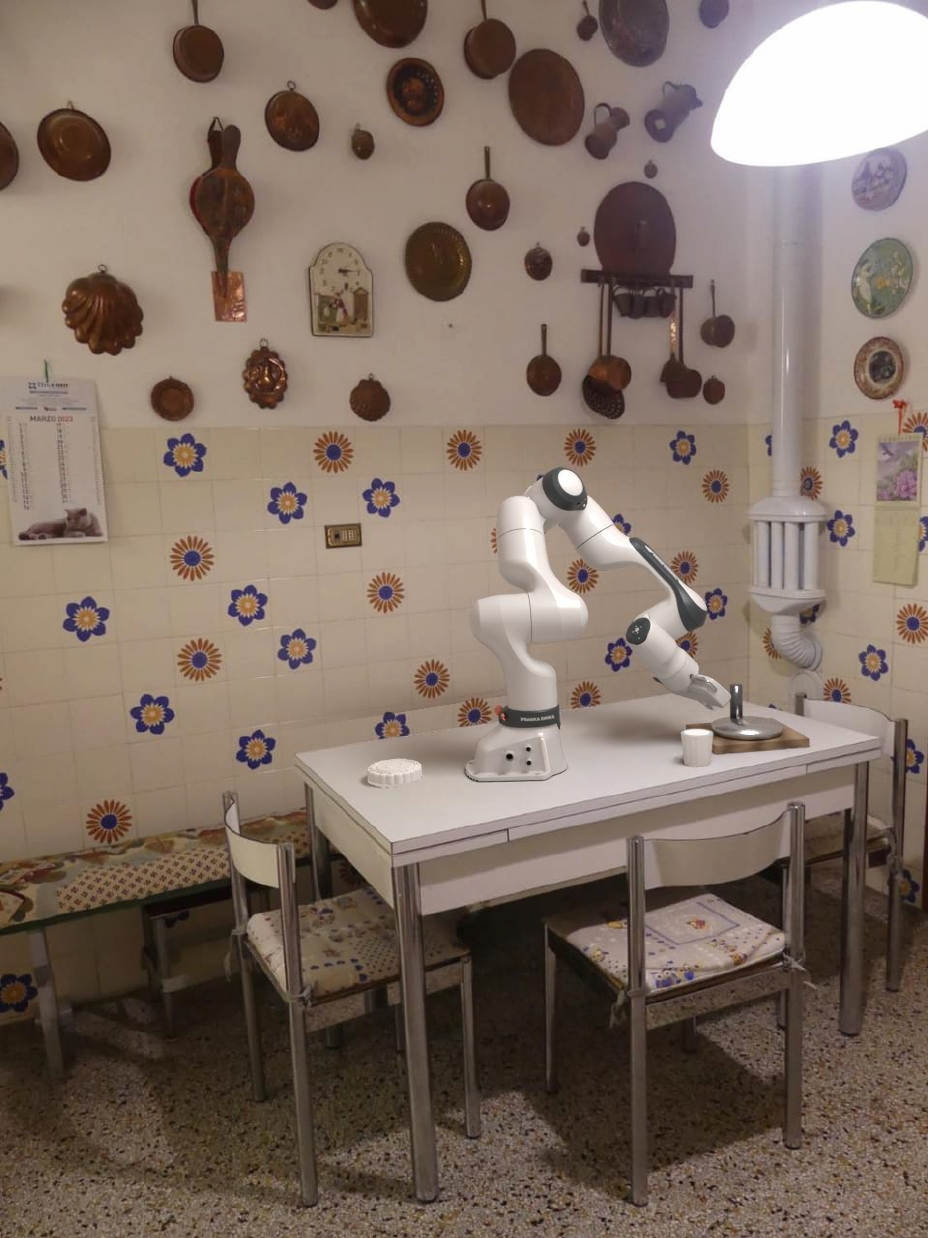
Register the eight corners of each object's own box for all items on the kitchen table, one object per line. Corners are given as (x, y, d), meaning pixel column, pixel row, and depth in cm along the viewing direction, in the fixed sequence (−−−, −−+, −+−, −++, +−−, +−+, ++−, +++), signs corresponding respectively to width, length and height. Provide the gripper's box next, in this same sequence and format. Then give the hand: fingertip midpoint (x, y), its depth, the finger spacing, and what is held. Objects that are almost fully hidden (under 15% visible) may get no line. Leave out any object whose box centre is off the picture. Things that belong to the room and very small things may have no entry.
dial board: (715, 754, 213) (715, 744, 212) (685, 732, 232) (685, 723, 232) (809, 747, 215) (809, 737, 214) (772, 725, 234) (772, 716, 234)
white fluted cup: (714, 768, 203) (714, 736, 202) (681, 767, 205) (681, 736, 204) (712, 758, 210) (712, 728, 209) (681, 758, 211) (680, 728, 210)
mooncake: (383, 770, 215) (382, 755, 214) (431, 774, 210) (430, 758, 209) (357, 787, 204) (356, 770, 203) (407, 791, 199) (406, 774, 199)
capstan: (794, 737, 215) (793, 696, 213) (724, 741, 214) (724, 700, 213) (766, 719, 231) (766, 681, 230) (702, 724, 230) (701, 685, 229)
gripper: (714, 668, 211) (750, 705, 216) (661, 655, 230) (695, 690, 235) (698, 690, 210) (735, 727, 215) (646, 676, 229) (681, 710, 234)
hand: (714, 707), depth 225 cm, fingers closed
